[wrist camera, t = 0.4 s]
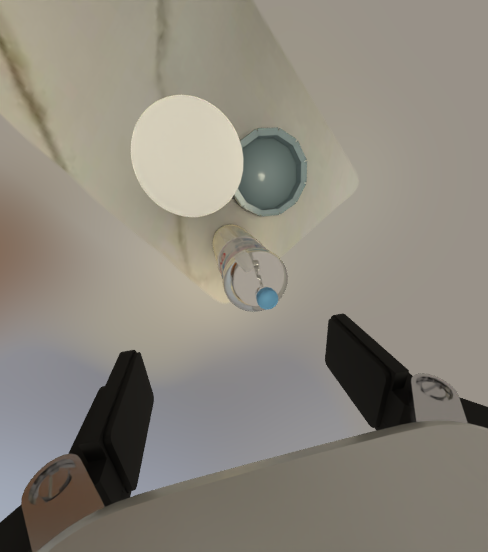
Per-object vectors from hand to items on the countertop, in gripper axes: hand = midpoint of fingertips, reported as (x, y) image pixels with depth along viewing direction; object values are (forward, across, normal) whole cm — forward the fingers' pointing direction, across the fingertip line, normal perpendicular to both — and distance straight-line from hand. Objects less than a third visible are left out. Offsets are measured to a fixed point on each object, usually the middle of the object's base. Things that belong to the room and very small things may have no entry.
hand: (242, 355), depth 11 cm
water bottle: (+33, -4, +2) cm, 33 cm away
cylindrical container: (+33, +1, -8) cm, 34 cm away
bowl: (+33, -11, -8) cm, 36 cm away
